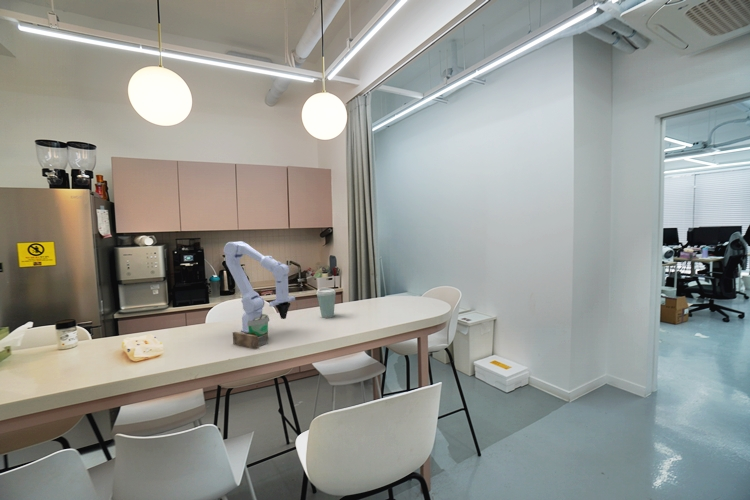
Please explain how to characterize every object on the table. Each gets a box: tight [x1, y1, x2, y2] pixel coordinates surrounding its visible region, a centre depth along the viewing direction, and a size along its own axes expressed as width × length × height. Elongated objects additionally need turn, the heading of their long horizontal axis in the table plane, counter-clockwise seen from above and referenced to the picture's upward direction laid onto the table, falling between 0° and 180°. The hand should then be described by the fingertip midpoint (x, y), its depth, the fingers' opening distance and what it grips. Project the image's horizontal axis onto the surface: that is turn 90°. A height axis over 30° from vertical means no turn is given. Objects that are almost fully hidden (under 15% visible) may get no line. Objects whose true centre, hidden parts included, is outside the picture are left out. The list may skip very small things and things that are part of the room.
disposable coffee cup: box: [316, 287, 337, 319], centre depth 181 cm, size 11×11×15 cm
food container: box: [247, 313, 270, 340], centre depth 145 cm, size 12×6×10 cm, turn 171°
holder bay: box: [232, 331, 268, 350], centre depth 141 cm, size 14×7×5 cm, turn 60°
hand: (283, 318), depth 157 cm, fingers closed
